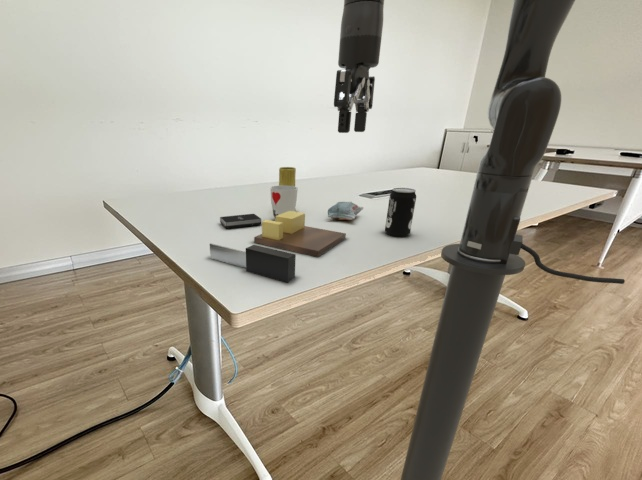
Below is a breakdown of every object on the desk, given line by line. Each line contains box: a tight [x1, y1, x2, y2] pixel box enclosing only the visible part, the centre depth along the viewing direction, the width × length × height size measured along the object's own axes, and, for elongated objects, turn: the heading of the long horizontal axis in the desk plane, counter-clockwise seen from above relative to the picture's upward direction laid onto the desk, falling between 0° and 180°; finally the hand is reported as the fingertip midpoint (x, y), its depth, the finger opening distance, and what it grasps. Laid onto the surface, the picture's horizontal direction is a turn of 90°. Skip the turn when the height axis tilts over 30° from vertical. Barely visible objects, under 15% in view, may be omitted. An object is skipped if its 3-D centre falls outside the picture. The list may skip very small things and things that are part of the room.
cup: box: [269, 185, 299, 221], centre depth 104 cm, size 8×8×10 cm
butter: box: [276, 211, 306, 234], centre depth 92 cm, size 5×7×4 cm
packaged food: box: [327, 201, 364, 221], centre depth 108 cm, size 9×12×5 cm
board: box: [253, 225, 347, 258], centre depth 88 cm, size 18×16×2 cm
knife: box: [209, 242, 297, 283], centre depth 71 cm, size 21×3×5 cm, turn 57°
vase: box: [278, 166, 297, 212], centre depth 113 cm, size 6×6×14 cm
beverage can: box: [384, 187, 417, 238], centre depth 92 cm, size 7×7×12 cm
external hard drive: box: [219, 213, 262, 229], centre depth 101 cm, size 7×11×2 cm, turn 113°
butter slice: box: [261, 219, 283, 240], centre depth 85 cm, size 5×2×4 cm, turn 57°
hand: (351, 132), depth 70 cm, fingers open, 8 cm apart
